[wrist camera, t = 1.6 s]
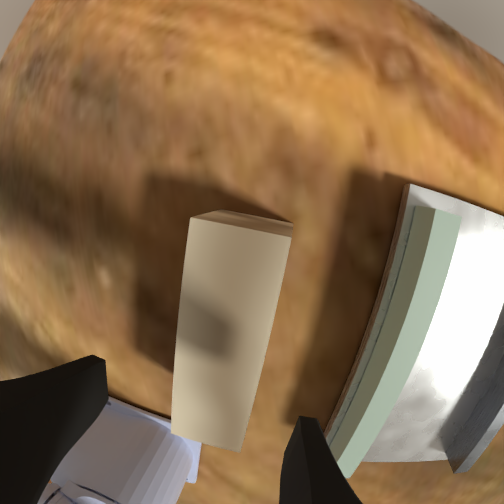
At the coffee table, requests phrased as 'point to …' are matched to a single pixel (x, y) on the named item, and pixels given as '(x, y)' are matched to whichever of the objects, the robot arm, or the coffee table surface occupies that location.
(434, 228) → the bar
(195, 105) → the coffee table surface
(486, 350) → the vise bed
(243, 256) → the wood bar
